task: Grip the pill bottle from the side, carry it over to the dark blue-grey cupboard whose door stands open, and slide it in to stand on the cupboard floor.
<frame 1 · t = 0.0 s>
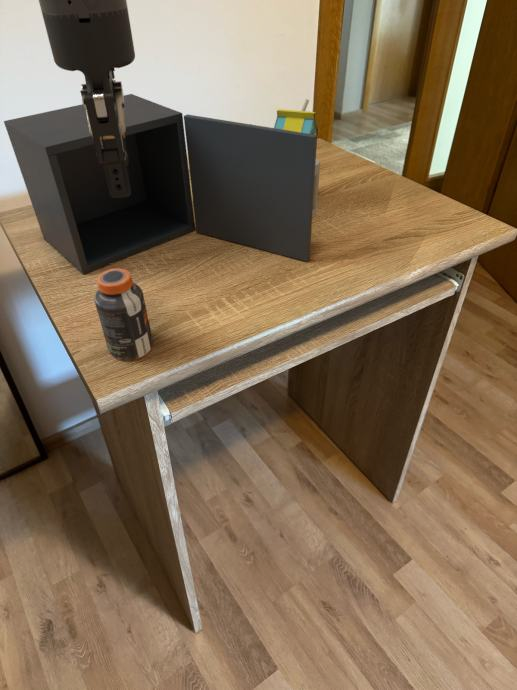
hand: (120, 180, 54), 21 cm above the table, tool pointing down, fingers open, 8 cm apart
carton: (293, 199, 100), on the table
cupboard: (120, 234, 89), on the table
pill bottle: (131, 348, 66), on the table
cupboard door: (256, 184, 80), point 10 cm above the table, hinge at 110.0°
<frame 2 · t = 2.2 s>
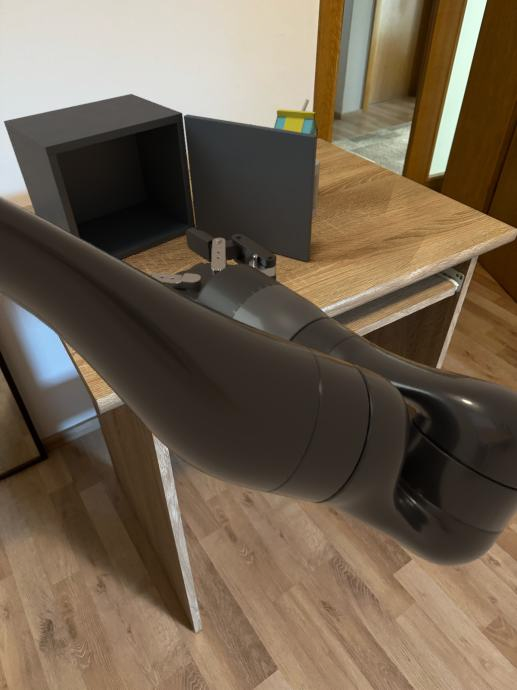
hand: (152, 252, 46), 19 cm above the table, tool horizontal, fingers open, 8 cm apart
nothing on the table moved.
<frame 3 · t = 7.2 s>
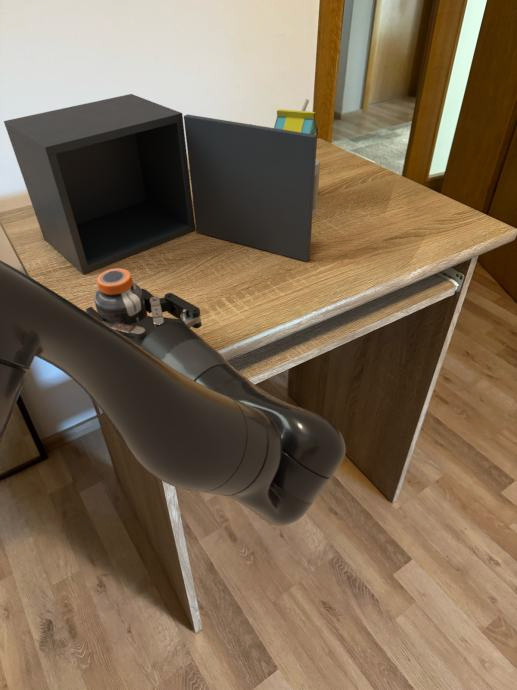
hand: (113, 303, 63), 6 cm above the table, tool horizontal, fingers closed on pill bottle, 6 cm apart
pill bottle: (131, 348, 66), on the table, touching gripper
everything else where it was.
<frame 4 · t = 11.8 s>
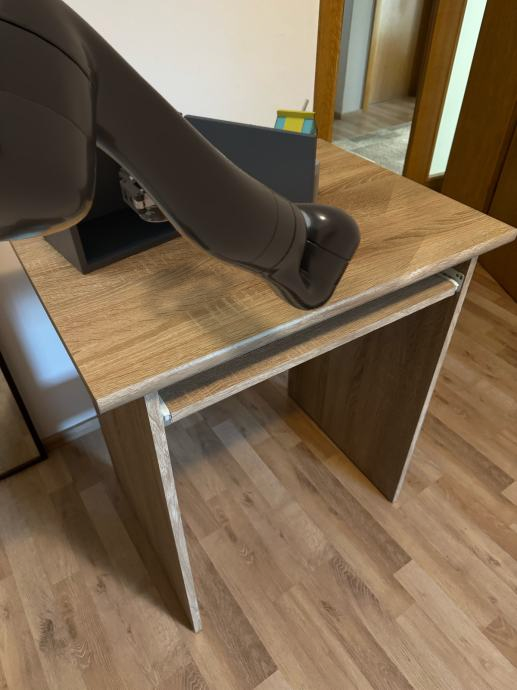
hand: (144, 168, 68), 17 cm above the table, tool horizontal, fingers closed on pill bottle, 6 cm apart
pill bottle: (160, 215, 71), point 11 cm above the table, touching gripper
everything else where it was.
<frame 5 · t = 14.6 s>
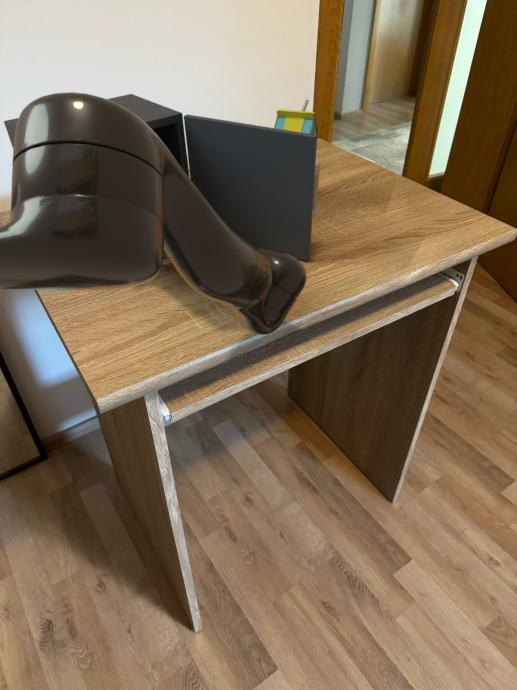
hand: (133, 207, 80), 8 cm above the table, tool horizontal, fingers closed on pill bottle, 6 cm apart
pill bottle: (147, 246, 82), point 2 cm above the table, touching gripper
everything else where it was.
when the fingers open (7 cm above the table, at t = 16.7 s): pill bottle stays where it is, resting on cupboard.
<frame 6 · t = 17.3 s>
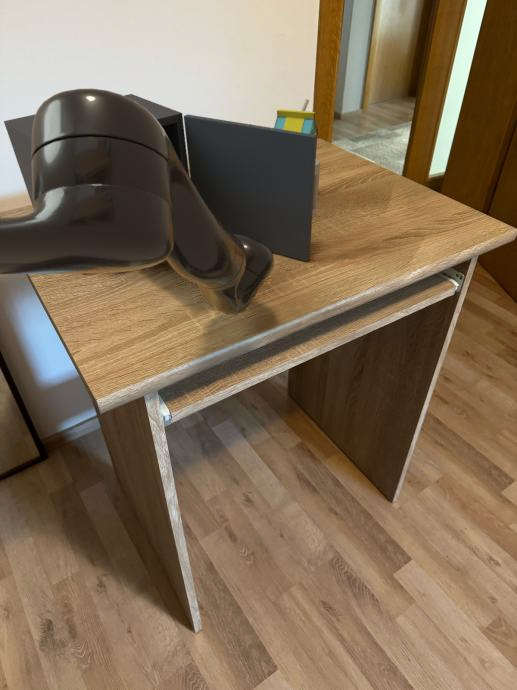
hand: (117, 197, 83), 8 cm above the table, tool horizontal, fingers open, 8 cm apart
pill bottle: (131, 237, 86), point 1 cm above the table, touching cupboard
everything else where it was.
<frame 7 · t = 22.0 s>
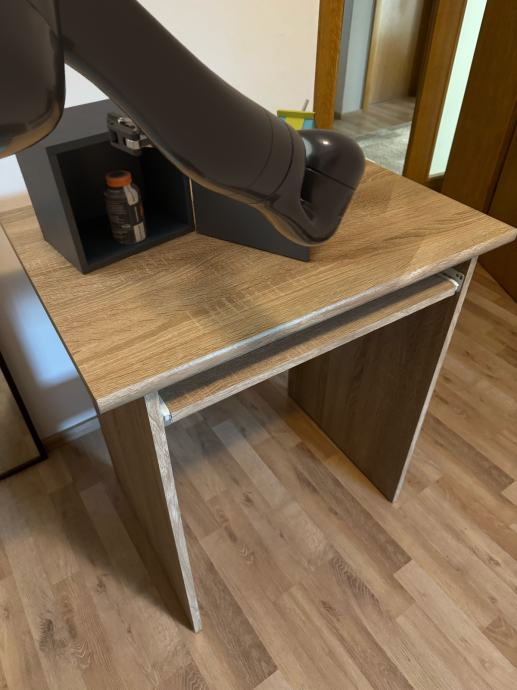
hand: (139, 113, 65), 24 cm above the table, tool horizontal, fingers open, 8 cm apart
nothing on the table moved.
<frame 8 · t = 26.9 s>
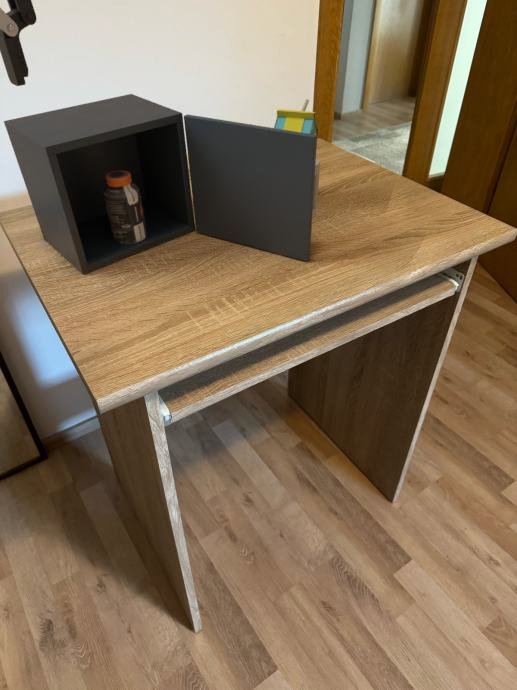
nothing on the table moved.
at the end: pill bottle inside the target area in the cupboard (1.4 cm from its centre), point 1.0 cm above the cupboard's base; pill bottle tilted 0°; the gripper is holding nothing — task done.
